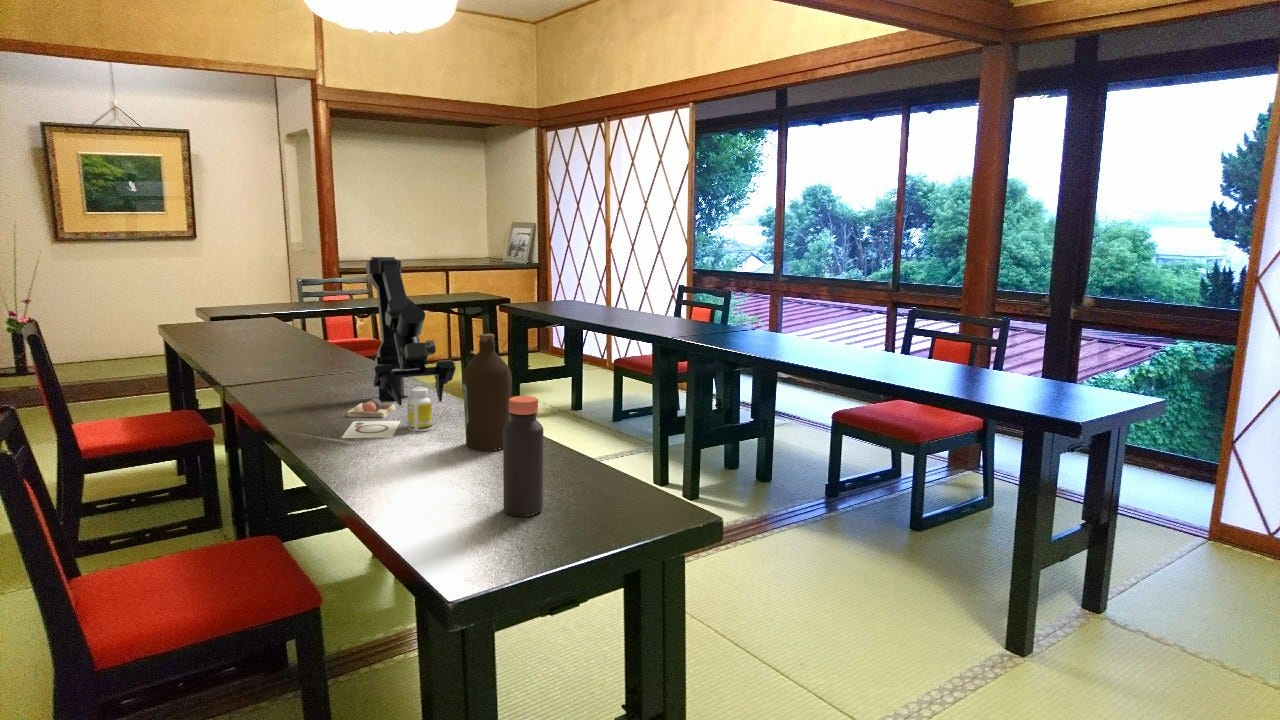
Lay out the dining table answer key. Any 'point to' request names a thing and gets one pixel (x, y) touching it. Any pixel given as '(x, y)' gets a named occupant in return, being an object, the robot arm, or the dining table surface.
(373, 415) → the masu tray
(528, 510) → the vinegar
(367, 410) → the red ball
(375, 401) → the grey ball
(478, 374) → the brown rum bottle
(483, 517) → the dining table surface
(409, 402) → the supplement bottle
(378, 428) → the card
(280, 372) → the dining table surface
